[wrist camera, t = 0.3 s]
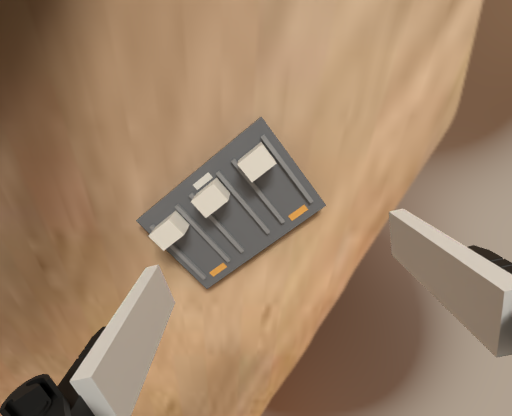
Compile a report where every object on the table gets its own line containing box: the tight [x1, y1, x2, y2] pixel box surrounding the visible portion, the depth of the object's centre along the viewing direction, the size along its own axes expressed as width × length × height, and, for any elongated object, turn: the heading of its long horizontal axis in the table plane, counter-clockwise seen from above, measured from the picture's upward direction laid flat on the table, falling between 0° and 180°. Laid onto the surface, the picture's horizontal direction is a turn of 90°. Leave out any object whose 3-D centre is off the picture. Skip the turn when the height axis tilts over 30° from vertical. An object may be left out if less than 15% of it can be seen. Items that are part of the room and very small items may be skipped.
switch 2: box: [237, 142, 277, 182], centre depth 34 cm, size 3×4×4 cm
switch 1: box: [148, 211, 190, 251], centre depth 37 cm, size 3×4×4 cm
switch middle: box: [191, 178, 230, 218], centre depth 35 cm, size 3×4×4 cm
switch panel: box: [136, 117, 326, 289], centre depth 39 cm, size 16×24×3 cm, turn 128°
